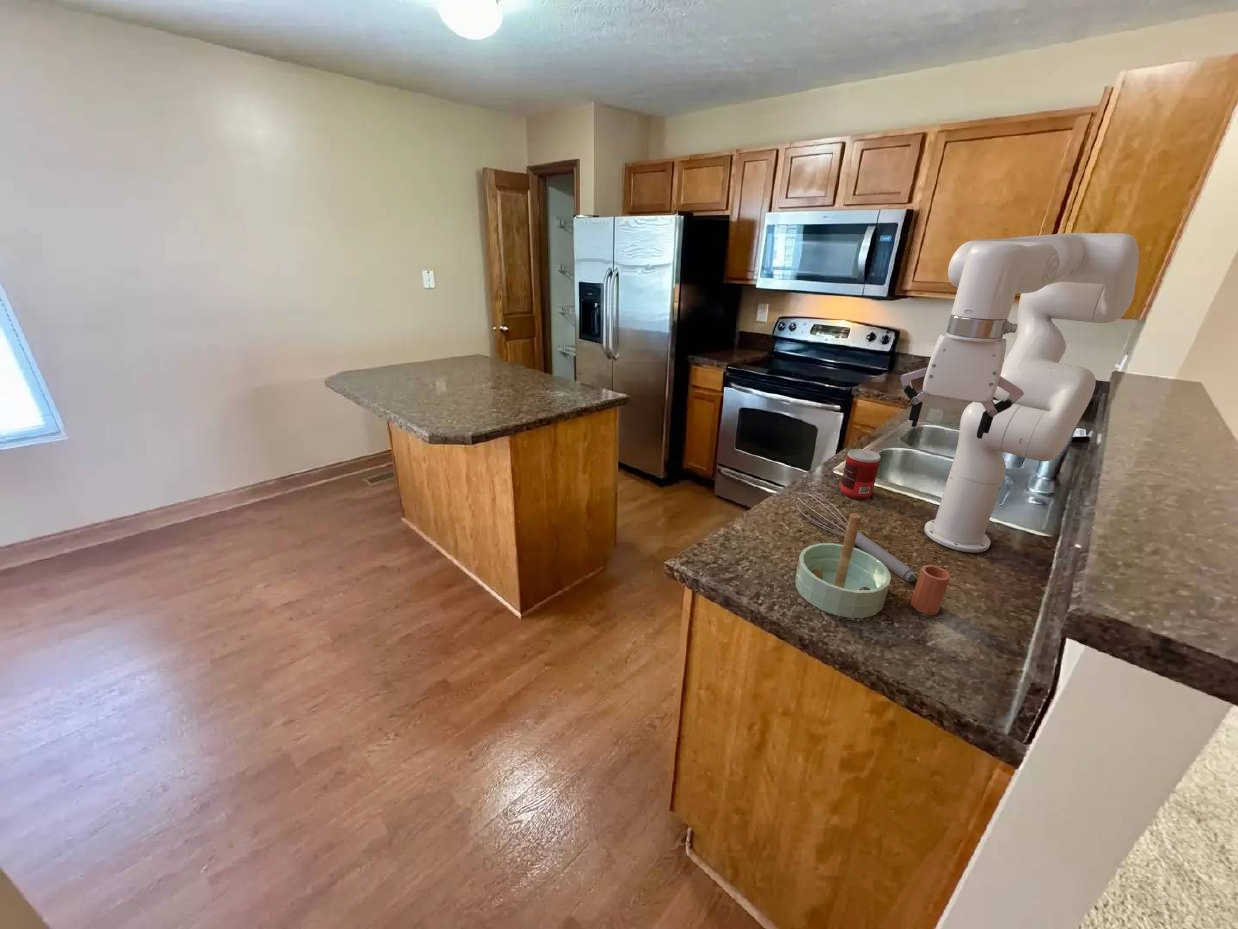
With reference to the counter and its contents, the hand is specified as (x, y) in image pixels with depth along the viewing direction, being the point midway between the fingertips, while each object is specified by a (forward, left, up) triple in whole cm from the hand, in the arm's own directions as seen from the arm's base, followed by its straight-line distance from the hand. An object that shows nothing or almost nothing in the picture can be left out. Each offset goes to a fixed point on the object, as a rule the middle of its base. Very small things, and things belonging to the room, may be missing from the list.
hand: (945, 430), depth 88 cm
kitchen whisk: (-8, -11, -31) cm, 34 cm away
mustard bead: (+11, -14, -29) cm, 34 cm away
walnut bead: (+12, -5, -29) cm, 32 cm away
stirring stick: (+12, -10, -30) cm, 34 cm away
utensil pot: (+8, +4, -31) cm, 32 cm away
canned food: (-35, -15, -31) cm, 49 cm away
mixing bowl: (+12, -10, -31) cm, 34 cm away
